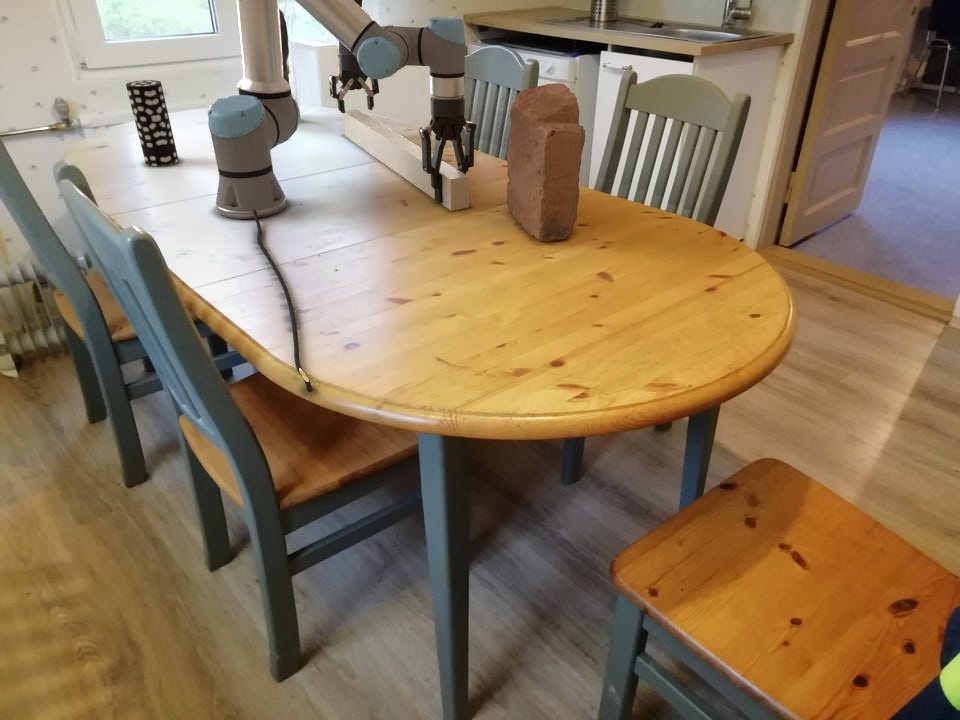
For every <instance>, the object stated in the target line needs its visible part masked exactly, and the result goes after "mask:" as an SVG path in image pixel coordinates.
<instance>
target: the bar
mask: <svg viewBox="0 0 960 720" xmlns="http://www.w3.org/2000/svg"><path fill="white" fill-rule="evenodd" d="M341 115H342V126H343V136H344V137H346V138H347V139H349V140H350V141H351V142H353V143H354V144H356V145H357V146H358V147H360V148H361V149H362V150H364V151H365V152H367V153H368V154H370V155H371V156H373V157H374V158H376V160H378V161H379V162H381V163H382V164H384V165H385V166H387V167H388V168H389V169H391V170H392V171H394V172H395V173H396V174H398V175H400V176H401V177H402V178H404V179H405V180H407V182H409V183H411V184H412V185H413V186H415V187H417V188H418V189H419V190H421V191H422V192H424V193H425V194H426V195H428V196H430V197H431V198H432V199H433V200H435V191H434V188H432V186H431V174H428V173H426V172H425V171H423V167H422V146H419V145H417V144H416V143H414V142H413V141H411V140H409V139H407V138H406V137H404V136H402V135H400V134H399V133H397V132H395V131H394V130H392V129H391V128H389V127H387V126H386V125H384V124H382V123H380V122H379V121H377V120H376V119H374V118H373V117H371V116H369V115H367V114H366V113H364V112H362V111H361V110H359V109H357V108H355V109H353V108H352V109H345V113H341ZM432 155H433V153H431V158H432ZM457 169H458V168H456V167H454V166H453V165H451V164H449V163H447V162H445V161H444V160H443V159H442V160H441V165H440V171H439V174H441V175H442V196H443V203H440V204H441V206H443V207H445V208H446V209H447V210H449V211H451V212H452V211H457V210H458V211H459V210H463V209H468V208H470V176H469V175H467V173H466V174H464V173H462V172H461V171H459V170H457Z"/></svg>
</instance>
